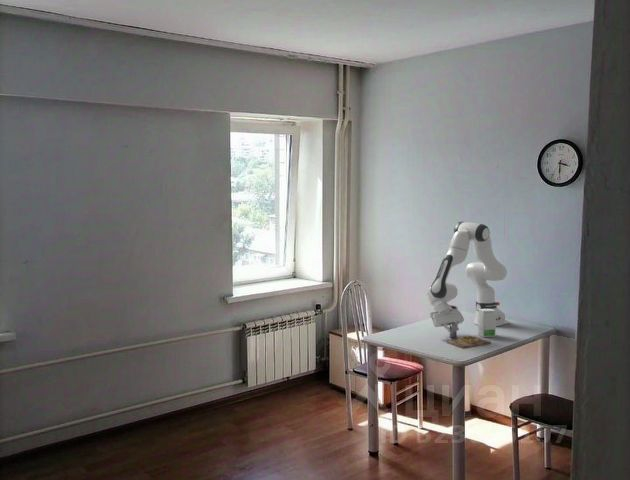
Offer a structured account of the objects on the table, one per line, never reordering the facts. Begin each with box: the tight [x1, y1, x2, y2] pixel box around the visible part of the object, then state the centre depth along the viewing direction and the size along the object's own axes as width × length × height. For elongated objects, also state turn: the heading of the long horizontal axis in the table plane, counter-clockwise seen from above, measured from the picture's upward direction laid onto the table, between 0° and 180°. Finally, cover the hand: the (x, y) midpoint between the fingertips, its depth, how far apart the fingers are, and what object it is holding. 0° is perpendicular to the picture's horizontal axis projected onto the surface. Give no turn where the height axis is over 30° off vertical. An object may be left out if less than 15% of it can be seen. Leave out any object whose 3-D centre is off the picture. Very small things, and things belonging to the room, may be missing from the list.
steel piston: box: [449, 324, 458, 340], centre depth 344 cm, size 4×4×8 cm
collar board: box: [446, 335, 491, 349], centre depth 332 cm, size 20×13×3 cm, turn 116°
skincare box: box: [477, 309, 497, 338], centre depth 347 cm, size 8×7×16 cm
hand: (453, 330), depth 343 cm, fingers closed on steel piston, 4 cm apart
